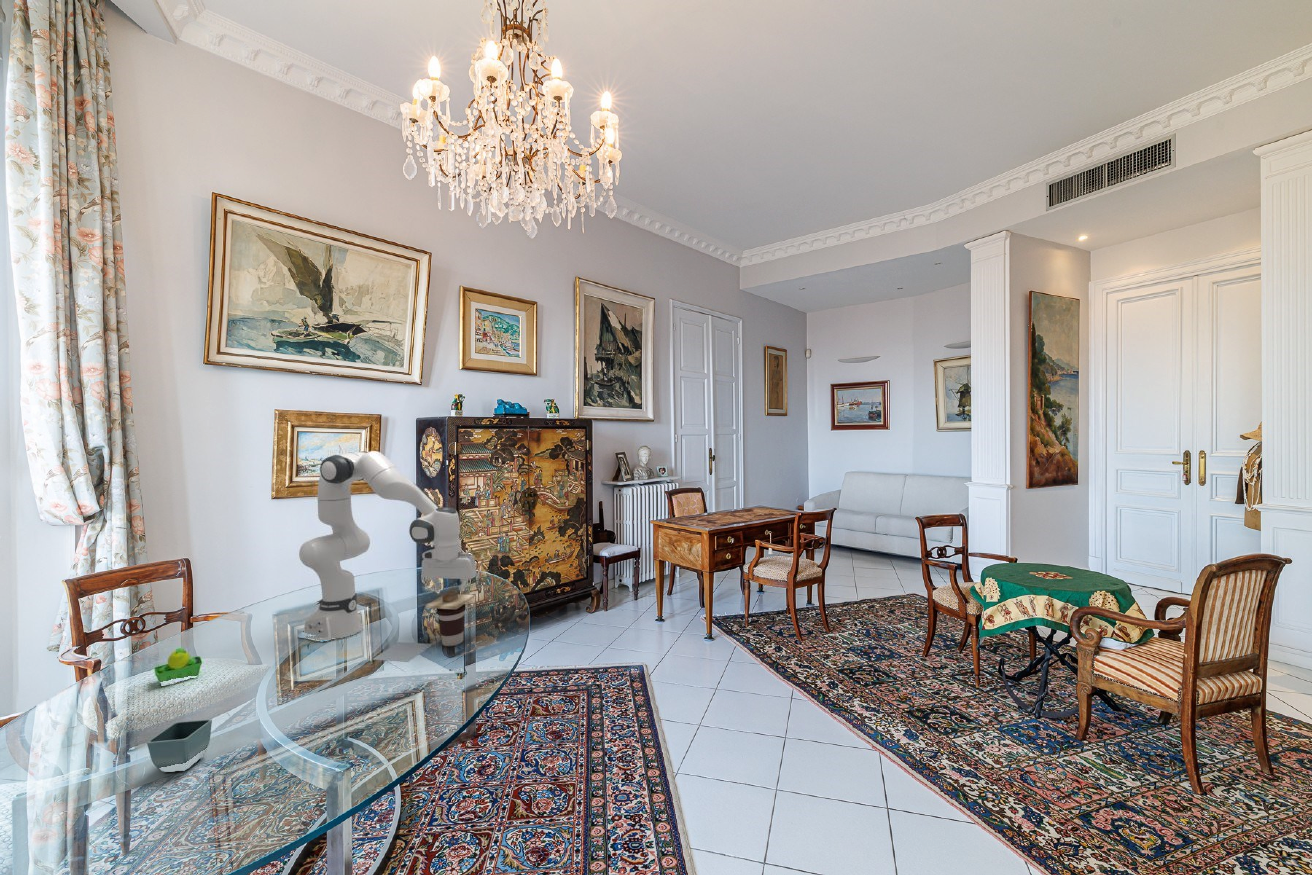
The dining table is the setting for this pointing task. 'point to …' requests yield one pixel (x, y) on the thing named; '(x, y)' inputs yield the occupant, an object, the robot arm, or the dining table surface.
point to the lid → (450, 600)
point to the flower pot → (179, 742)
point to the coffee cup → (451, 625)
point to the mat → (402, 652)
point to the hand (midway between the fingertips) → (450, 589)
